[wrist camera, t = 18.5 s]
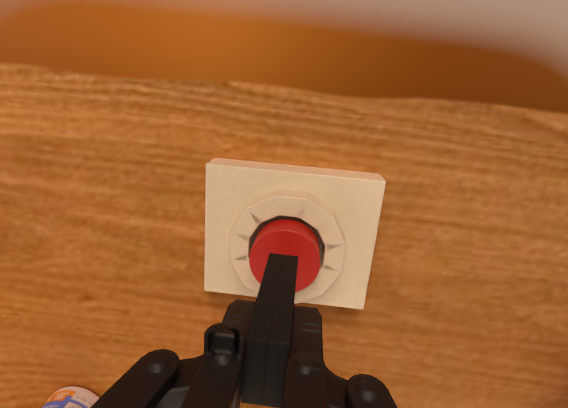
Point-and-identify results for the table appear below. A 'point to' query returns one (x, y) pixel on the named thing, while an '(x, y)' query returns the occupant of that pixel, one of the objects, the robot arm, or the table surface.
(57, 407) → the pill bottle
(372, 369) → the table surface
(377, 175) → the button box
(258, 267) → the button
